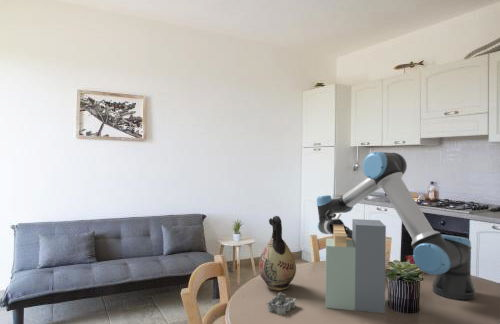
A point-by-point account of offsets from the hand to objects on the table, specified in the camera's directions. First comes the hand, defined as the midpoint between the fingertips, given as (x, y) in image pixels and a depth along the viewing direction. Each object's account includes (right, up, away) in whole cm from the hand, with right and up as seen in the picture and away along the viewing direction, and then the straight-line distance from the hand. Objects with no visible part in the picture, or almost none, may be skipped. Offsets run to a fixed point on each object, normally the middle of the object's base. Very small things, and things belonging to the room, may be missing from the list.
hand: (351, 226), depth 150 cm
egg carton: (-32, -25, -24) cm, 47 cm away
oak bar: (-8, -3, -13) cm, 15 cm away
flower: (+37, -26, +23) cm, 51 cm away
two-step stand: (-5, -25, -19) cm, 32 cm away
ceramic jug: (-32, -25, -3) cm, 40 cm away
